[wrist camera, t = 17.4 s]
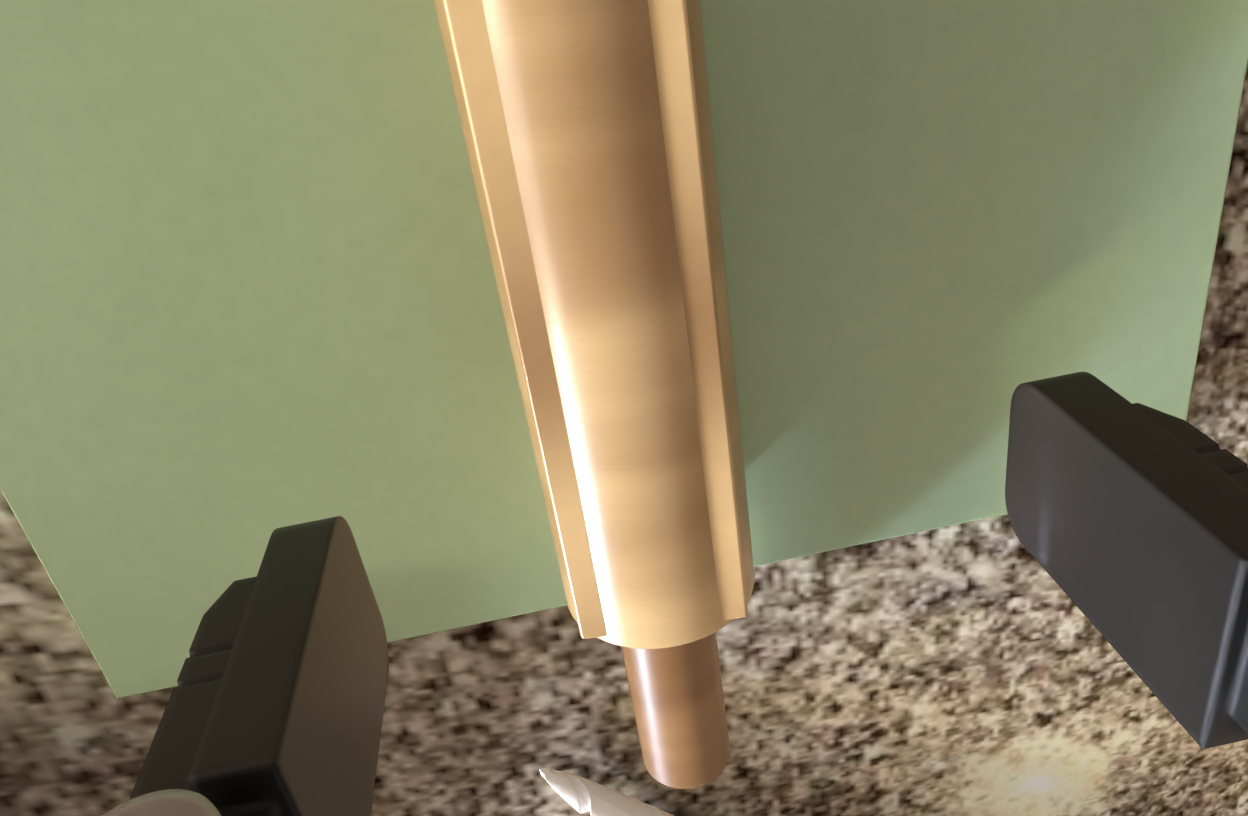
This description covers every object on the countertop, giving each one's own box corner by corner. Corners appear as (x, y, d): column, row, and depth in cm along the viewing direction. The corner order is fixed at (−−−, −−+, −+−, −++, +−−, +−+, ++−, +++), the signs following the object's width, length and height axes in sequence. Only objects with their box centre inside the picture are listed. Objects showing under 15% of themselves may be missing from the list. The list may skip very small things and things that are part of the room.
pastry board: (1283, -408, 18) (1334, -430, 17) (1151, 458, 27) (1178, 479, 26) (-319, -171, 16) (-375, -178, 15) (131, 668, 26) (116, 700, 25)
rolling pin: (324, -613, 14) (220, -825, 10) (621, -667, 14) (637, -904, 10) (602, 700, 27) (605, 837, 23) (755, 680, 27) (785, 814, 23)
